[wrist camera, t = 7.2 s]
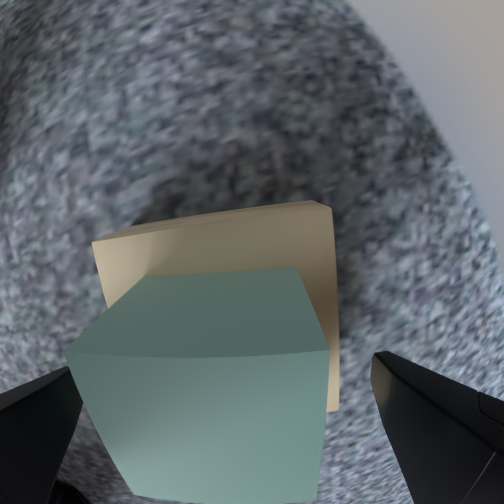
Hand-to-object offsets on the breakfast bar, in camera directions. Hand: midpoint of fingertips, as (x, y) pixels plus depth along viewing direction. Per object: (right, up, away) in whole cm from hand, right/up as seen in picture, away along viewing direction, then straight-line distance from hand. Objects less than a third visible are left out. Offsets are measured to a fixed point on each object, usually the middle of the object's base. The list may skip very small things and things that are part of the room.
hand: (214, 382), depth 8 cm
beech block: (0, +2, +6) cm, 6 cm away
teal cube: (0, +1, +2) cm, 2 cm away
